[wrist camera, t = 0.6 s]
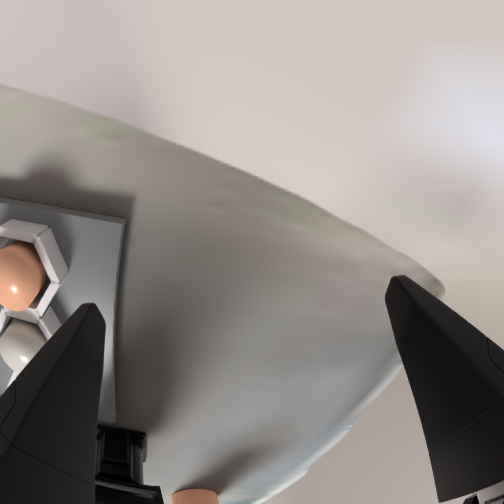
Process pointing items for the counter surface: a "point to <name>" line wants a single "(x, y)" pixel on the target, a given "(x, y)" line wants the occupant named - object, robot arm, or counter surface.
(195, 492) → the pepper shaker
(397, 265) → the counter surface
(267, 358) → the counter surface
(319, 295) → the counter surface
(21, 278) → the terracotta button
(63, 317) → the button panel
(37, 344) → the grey button
